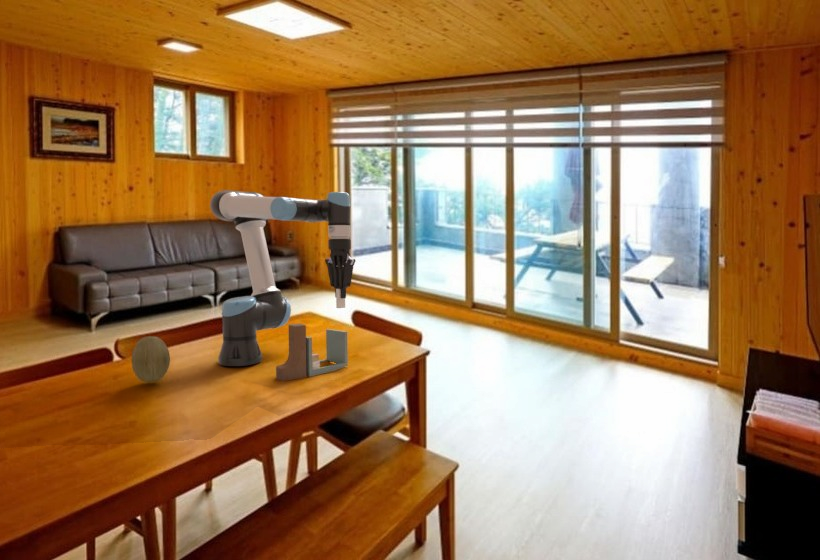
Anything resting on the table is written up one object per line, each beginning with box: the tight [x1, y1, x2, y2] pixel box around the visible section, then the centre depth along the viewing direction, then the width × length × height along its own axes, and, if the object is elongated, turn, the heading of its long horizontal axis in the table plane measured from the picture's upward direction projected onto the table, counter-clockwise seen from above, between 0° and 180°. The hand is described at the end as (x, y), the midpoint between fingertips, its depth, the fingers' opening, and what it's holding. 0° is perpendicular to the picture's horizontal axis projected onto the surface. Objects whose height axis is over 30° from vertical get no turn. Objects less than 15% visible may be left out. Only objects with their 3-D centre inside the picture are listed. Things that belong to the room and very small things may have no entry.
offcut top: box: [312, 352, 320, 362], centre depth 189 cm, size 6×3×2 cm, turn 49°
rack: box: [306, 328, 349, 378], centre depth 193 cm, size 10×17×13 cm, turn 139°
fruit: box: [131, 335, 171, 383], centre depth 178 cm, size 11×11×15 cm
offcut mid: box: [312, 360, 321, 369], centre depth 189 cm, size 7×3×2 cm, turn 51°
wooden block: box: [275, 323, 307, 382], centre depth 182 cm, size 9×4×18 cm, turn 125°
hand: (340, 307), depth 187 cm, fingers closed
